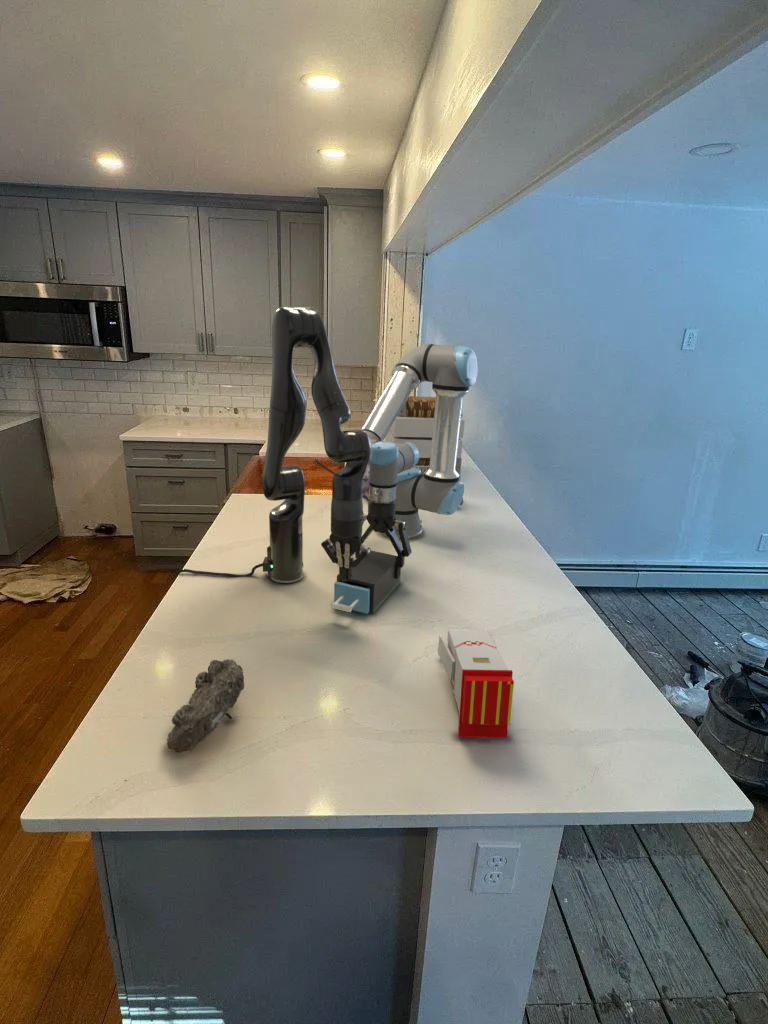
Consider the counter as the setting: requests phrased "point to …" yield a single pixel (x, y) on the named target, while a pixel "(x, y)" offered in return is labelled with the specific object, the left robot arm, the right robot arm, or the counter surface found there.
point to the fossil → (206, 705)
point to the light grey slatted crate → (420, 428)
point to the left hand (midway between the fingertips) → (345, 579)
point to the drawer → (351, 597)
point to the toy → (478, 682)
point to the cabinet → (376, 576)
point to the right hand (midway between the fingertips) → (378, 572)
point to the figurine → (366, 482)
